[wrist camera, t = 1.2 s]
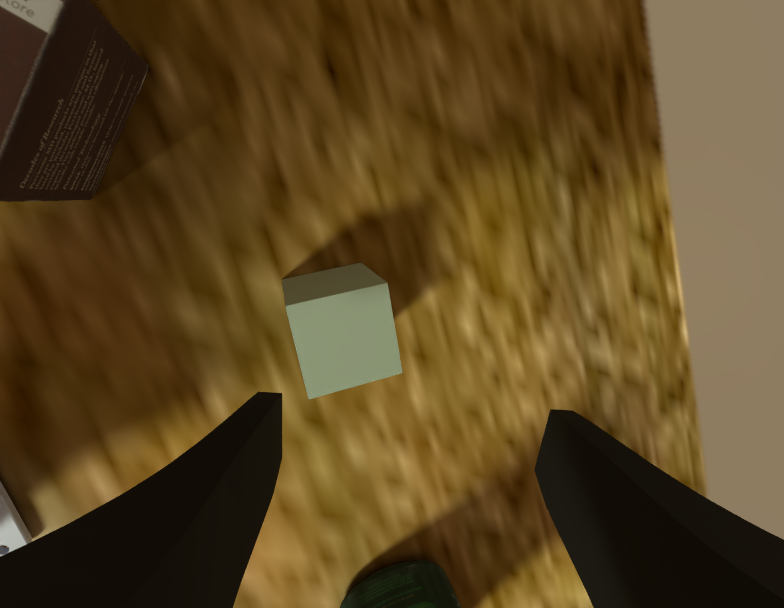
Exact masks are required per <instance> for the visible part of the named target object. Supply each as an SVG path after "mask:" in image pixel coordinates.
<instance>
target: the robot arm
mask: <svg viewBox="0 0 784 608" xmlns="http://www.w3.org/2000/svg"><path fill="white" fill-rule="evenodd" d="M281 460H282V393H269V392H258V393H256V394H255V395H254V396H253V397H252V398H250V399H249V400H248V401H247V402H246V403H245V404H243V405H242V406H241V407H240V408H239V409H238V410H236V411H235V412H234V413H233V414H232V415H231V416H230V417H228V418H227V419H226V420H225V421H224V422H223V423H221V424H220V425H219V426H218V427H217V428H215V429H214V430H213V431H212V432H210V433H209V434H208V435H207V436H206V437H204V438H203V439H202V440H201V441H199V442H198V443H197V444H195V445H194V446H193V447H191V448H190V449H189V450H187V451H186V452H185V453H183V454H182V455H181V456H179V457H178V458H177V459H175V460H174V461H173V462H171V463H170V464H168V465H167V466H166V467H164V468H163V469H161V470H160V471H158V472H157V473H155V474H154V475H152V476H151V477H149V478H147V479H146V480H144V481H143V482H141V483H139V484H138V485H136V486H135V487H133V488H131V489H130V490H128V491H127V492H125V493H123V494H122V495H120V496H118V497H116V498H115V499H113V500H111V501H109V502H107V503H105V504H104V505H102V506H100V507H98V508H96V509H95V510H93V511H91V512H89V513H87V514H85V515H84V516H82V517H80V518H78V519H76V520H75V521H73V522H71V523H69V524H67V525H65V526H63V527H61V528H59V529H57V530H55V531H53V532H51V533H49V534H47V535H45V536H43V537H41V538H39V539H37V540H35V541H33V542H31V541H32V537H31V535H30V533H29V531H28V530H27V528H26V526H25V524H24V522H23V521H22V519H21V517H20V515H19V513H18V512H17V510H16V508H15V506H14V505H13V503H12V501H11V499H10V497H9V496H8V494H7V492H6V490H5V488H4V487H3V485H2V483H1V481H0V608H233V605H234V602H235V599H236V596H237V593H238V590H239V587H240V584H241V581H242V578H243V575H244V573H245V570H246V567H247V565H248V562H249V559H250V556H251V554H252V551H253V548H254V546H255V543H256V540H257V537H258V535H259V532H260V529H261V527H262V524H263V521H264V518H265V516H266V513H267V510H268V507H269V505H270V502H271V499H272V496H273V493H274V489H275V485H276V481H277V477H278V473H279V468H280V464H281ZM535 473H536V476H537V479H538V483H539V486H540V489H541V492H542V495H543V498H544V501H545V504H546V507H547V509H548V511H549V513H550V516H551V518H552V520H553V522H554V524H555V526H556V528H557V531H558V533H559V535H560V537H561V539H562V541H563V543H564V545H565V547H566V549H567V552H568V554H569V556H570V558H571V560H572V562H573V564H574V566H575V568H576V570H577V572H578V575H579V577H580V579H581V581H582V583H583V585H584V587H585V589H586V591H587V593H588V596H589V598H590V600H591V603H592V605H593V607H594V608H784V540H783V539H781V538H779V537H777V536H775V535H773V534H771V533H769V532H767V531H765V530H763V529H761V528H759V527H757V526H755V525H753V524H752V523H750V522H748V521H746V520H744V519H742V518H741V517H739V516H737V515H735V514H733V513H732V512H730V511H728V510H726V509H725V508H723V507H721V506H719V505H717V504H716V503H714V502H712V501H710V500H709V499H707V498H705V497H704V496H702V495H700V494H698V493H697V492H695V491H694V490H692V489H690V488H689V487H687V486H686V485H684V484H682V483H681V482H679V481H678V480H676V479H674V478H673V477H671V476H670V475H668V474H666V473H665V472H663V471H662V470H660V469H659V468H657V467H656V466H654V465H653V464H651V463H650V462H648V461H647V460H645V459H644V458H642V457H641V456H639V455H638V454H637V453H635V452H634V451H632V450H631V449H629V448H628V447H626V446H625V445H624V444H622V443H621V442H619V441H618V440H616V439H615V438H613V437H612V436H611V435H609V434H608V433H606V432H605V431H603V430H602V429H600V428H599V427H598V426H596V425H595V424H593V423H592V422H590V421H589V420H587V419H585V418H584V417H582V416H581V415H579V414H577V413H576V412H574V411H569V410H552V409H551V410H550V413H549V417H548V421H547V425H546V428H545V432H544V436H543V440H542V443H541V447H540V451H539V455H538V458H537V462H536V466H535ZM1 545H5V546H7V547H9V548H5V547H2V546H1Z"/></svg>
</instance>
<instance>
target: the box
mask: <svg viewBox="0 0 784 608" xmlns="http://www.w3.org/2000/svg"><path fill="white" fill-rule="evenodd" d="M148 67H149V66H148V64H147V63H146V62H145V61H144V60H142V59H141V57H140V56H139V55H138V54H137V53H136V52H135V51H134V50H133V49H132V48H131V46H130V45H129V44H128V43H127V42H126V41H125V40H124V38H123V37H122V36H121V35H120V34H119V33H118V32H117V31H116V30H115V28H113V27H112V25H111V24H110V23H109V22H108V21H107V20H106V19H105V18H104V17H103V15H102V14H101V13H100V12H99V11H98V10H97V9H96V8H95V6H94V5H93V4H92V3H91V2H90V1H89V0H0V201H6V202H11V201H21V202H23V201H60V200H89V199H91V198H92V197H93V196H94V194H95V192H96V190H97V188H98V186H99V183H100V181H101V178H102V176H103V174H104V171H105V169H106V166H107V164H108V162H109V158H110V156H111V154H112V152H113V149H114V146H115V144H116V142H117V140H118V138H119V135H120V133H121V131H122V129H123V127H124V124H125V122H126V120H127V117H128V115H129V113H130V111H131V109H132V106H133V104H134V102H135V100H136V97H137V95H138V93H139V91H140V90H141V86H142V85H143V82H144V80H145V77H146V74H147V70H148Z"/></svg>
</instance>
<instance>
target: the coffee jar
mask: <svg viewBox="0 0 784 608" xmlns="http://www.w3.org/2000/svg"><path fill="white" fill-rule="evenodd" d="M340 608H461V606H460V604H459V601H458V599H457V597H456V595H455V592H454V590H453V588H452V586H451V583H450V581H449V579H448V577H447V575H446V573H445V572H444V570H443V569H442V568H441V567H440V566H438V565H437V564H436V563H434V562H429V561H421V560H419V561H412V562H402V563H399V564H395V565H391V566H389V567H386V568H384V569H382V570H380V571H378V572H376V573H374V574H372V575H370V576H369V577H368V578H366V579H365V580H364V581H362V582H361V583H359V584H358V585H357V586H355V587H354V588H353V589H352V590H351V591H350V592H349V594H348V595H347V596H346V597H345V598H344V600H343V602H342V603H341V606H340Z"/></svg>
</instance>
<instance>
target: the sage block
mask: <svg viewBox="0 0 784 608" xmlns="http://www.w3.org/2000/svg"><path fill="white" fill-rule="evenodd" d="M282 285H283V292H284V300H285V307H286V311H287V315H288V319H289V323H290V327H291V331H292V335H293V339H294V343H295V347H296V351H297V355H298V359H299V363H300V367H301V371H302V375H303V379H304V383H305V387H306V391H307V395H308V399H312V398H315V397H319V396H323V395H326V394H330V393H333V392H337V391H340V390H344V389H347V388H351V387H354V386H358V385H362V384H365V383H369V382H372V381H376V380H379V379H383V378H386V377H390V376H394V375H397V374H401V373H402V367H401V361H400V355H399V349H398V343H397V337H396V331H395V325H394V319H393V313H392V307H391V301H390V295H389V289H388V283H387V282H386V281H385V280H383V279H382V278H381V277H379V276H378V275H377V274H376V273H374V272H373V271H372V270H370V269H369V268H368V267H367V266H365V265H364V264H363V263H362V262H361V263H356V264H351V265H347V266H342V267H337V268H333V269H328V270H323V271H319V272H314V273H309V274H305V275H300V276H295V277H291V278H286V279H282Z"/></svg>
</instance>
